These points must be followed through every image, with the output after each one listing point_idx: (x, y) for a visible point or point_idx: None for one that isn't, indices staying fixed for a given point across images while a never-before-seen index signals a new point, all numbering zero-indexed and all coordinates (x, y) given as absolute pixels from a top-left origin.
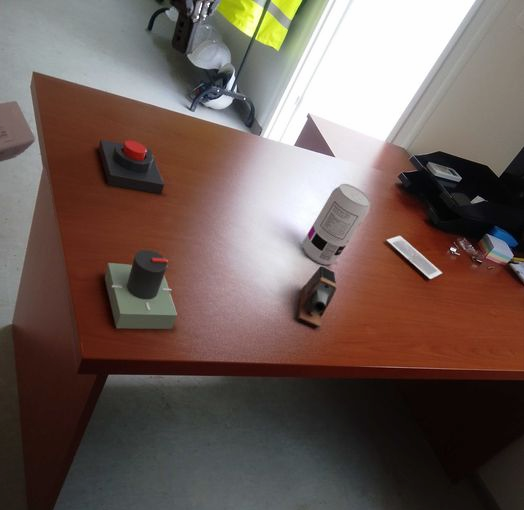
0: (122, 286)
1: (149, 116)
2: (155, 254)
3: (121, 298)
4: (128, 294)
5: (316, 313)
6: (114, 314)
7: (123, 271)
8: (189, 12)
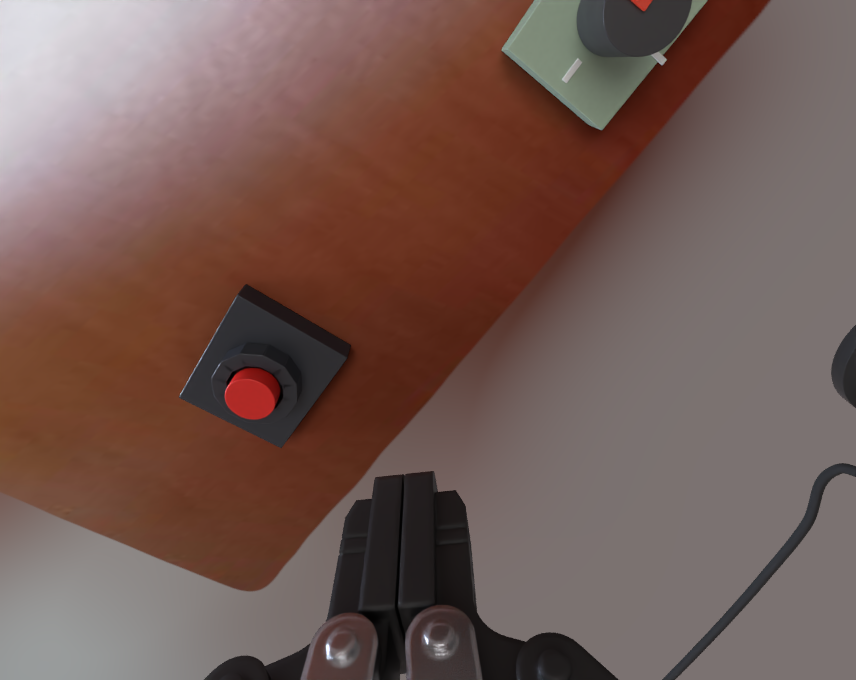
0: None
1: (70, 494)
2: (615, 21)
3: None
4: None
5: None
6: None
7: (598, 89)
8: (564, 655)
